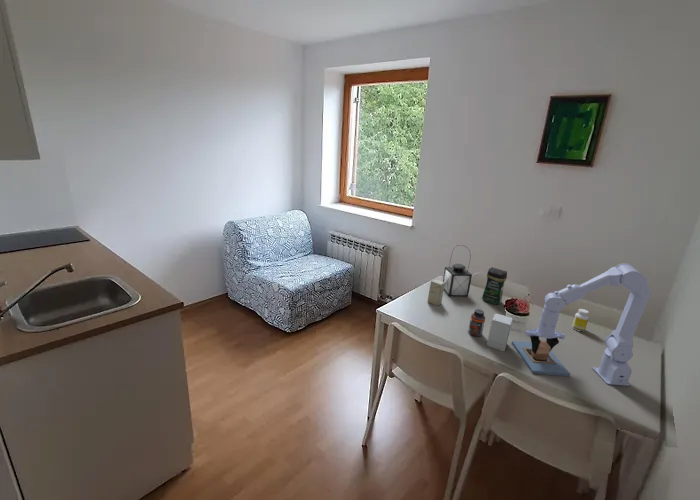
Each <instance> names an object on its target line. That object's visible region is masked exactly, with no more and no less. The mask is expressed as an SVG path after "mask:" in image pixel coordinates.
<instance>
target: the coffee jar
mask: <svg viewBox="0 0 700 500" xmlns="http://www.w3.org/2000/svg"><path fill="white" fill-rule="evenodd" d="M507 278H508V272H507V270H502V269H500V268H496V267H492V266H491V267H490V268H489V269H488V270H487V273H486V279H487V280H486V284H485V287H484V291H483V292H482V296H481V299H482V300H483V301H485V302H487V303H490V304H493V305H500V304H501V303H502V300H503V293H504V285H505V282H506V280H507Z"/></svg>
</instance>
